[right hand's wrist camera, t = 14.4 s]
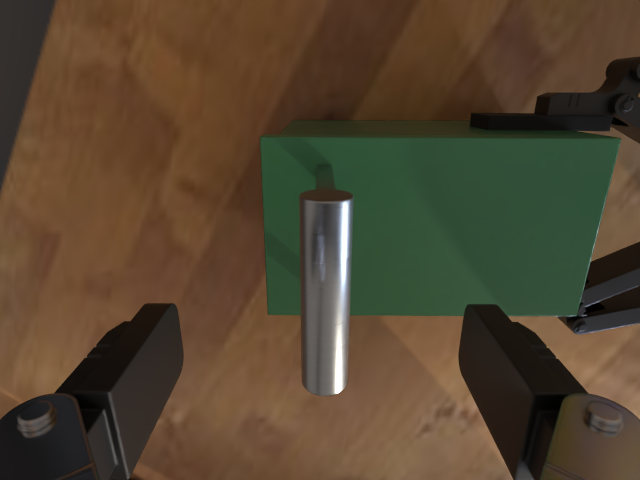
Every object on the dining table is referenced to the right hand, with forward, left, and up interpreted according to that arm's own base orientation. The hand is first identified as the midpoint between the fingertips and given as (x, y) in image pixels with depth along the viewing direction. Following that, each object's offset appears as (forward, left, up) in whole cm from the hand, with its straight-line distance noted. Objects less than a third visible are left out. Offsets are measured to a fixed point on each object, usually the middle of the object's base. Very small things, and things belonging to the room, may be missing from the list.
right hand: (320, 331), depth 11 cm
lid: (+1, -5, -10) cm, 11 cm away
